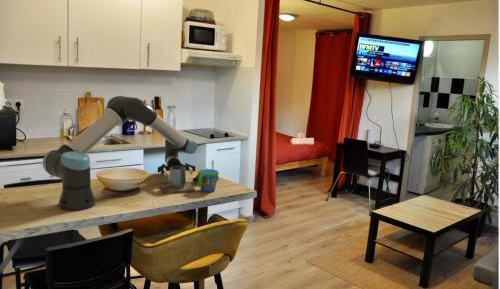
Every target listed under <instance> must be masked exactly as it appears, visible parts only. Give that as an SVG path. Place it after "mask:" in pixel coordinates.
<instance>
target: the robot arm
mask: <svg viewBox="0 0 500 289" xmlns="http://www.w3.org/2000/svg"><path fill="white" fill-rule="evenodd" d="M103 112H104V113H103V114H102V115H101V116H99V117H98V118H97V119H96V120H95V121H93V122H92V123H91V124H90V125H88V126H87V127H86V129H84V130H83V131H82V132H81V133H80V134H78V135H77V136H76V137H75V138H74V139H73V140H71V142H70V143H63V144H62V145H61V146H60V147H58V148H57V149H53V150H50V151H48V152H47V153H45V155H44V156H43V159H42V166H43V170H44V171H45V172H46V173H47V174H48V175H50V176H52V177H56V178H59V179H61V184H62V186H61V187H62V188H61V189H62V191H61V194H60V197H59V200H58V208H59V209H61V210H63V209H64V210H65V211H82V210H86V209H89V208H90V209H91V208H92V207H95V205H96V197H95V194H94V193H93V190H92V185H91V184H92V183H91V182H92V181H91V180H92V179H91V160H90V156H89V155H88V152H89V151H91V150H92V149H93V148H94V147H95V146H96V145H97V144H98V143H99V142H101V141H102V140H103V139H104V138H105V137H106V136H107V135H108V134H109V133H111V132H112V131H113V130H114V129H115V128H116V127H120V126H123V125H124V124H125V123H126V122H127V121H133V122H136V123H140V124H141V125H143V126H145V127H148V128H151V129H152V130H153V131H154V132H155V133H157V134H158V135H159V136H161V137H162V138H164V139H165V140H164V147H165V148H164V149H165V151H164V162H165V163H162V164H161V165H160V166H158V167H157V173H160V175H164V177H167V172H168V171H169V172H170V167H172V166H183V167H185V168H186V172H187V171H188V173H189V174H190V175H191V176H193V173H194V172H196V166H195V165H192V164H190V163H187V162H185V163H184V164H183V163H181V160H180V159H179V152H180V153H184V154H187V155H190V154H191V155H193V154H195V153H196V152H197V150H198V143H197V142H196V141H194V140H192V139H191V140H190V139H189V138H187V137H186V136H185V135H183V134H182V133H181V132H180V131H179V130H177V129H176V128H175V127H174V126H172V125H171V124H170V123H168V122H167V121H166V120H165V119H164V118H162V116H160V115H159V114H158V111H157V110H156V109H154V107H152V106H151V105H150V104H148V103H146V101H144V100H142V99H140V98H138V97H131V96H125V95H118V96H116V95H115V96H113V97H111V98H110V99H109V100H108V101H107V103H106V107H105V108H104V109H103Z"/></svg>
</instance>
